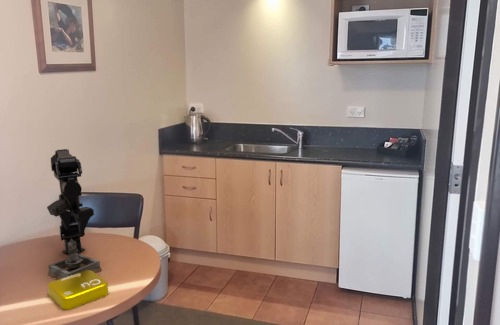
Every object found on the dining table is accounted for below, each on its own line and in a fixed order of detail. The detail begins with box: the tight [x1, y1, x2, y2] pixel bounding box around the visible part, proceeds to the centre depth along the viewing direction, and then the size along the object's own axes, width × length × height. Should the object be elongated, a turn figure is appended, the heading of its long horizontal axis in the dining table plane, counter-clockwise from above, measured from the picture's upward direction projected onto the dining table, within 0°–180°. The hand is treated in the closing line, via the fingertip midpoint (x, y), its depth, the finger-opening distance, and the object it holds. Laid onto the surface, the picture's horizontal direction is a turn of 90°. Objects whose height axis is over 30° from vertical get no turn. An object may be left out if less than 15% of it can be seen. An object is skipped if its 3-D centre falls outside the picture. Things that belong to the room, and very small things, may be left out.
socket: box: [47, 253, 102, 280], centre depth 159 cm, size 13×13×4 cm
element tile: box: [47, 270, 109, 311], centre depth 144 cm, size 15×15×5 cm
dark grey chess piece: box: [65, 239, 83, 272], centre depth 158 cm, size 6×6×12 cm
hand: (74, 231), depth 164 cm, fingers open, 9 cm apart
